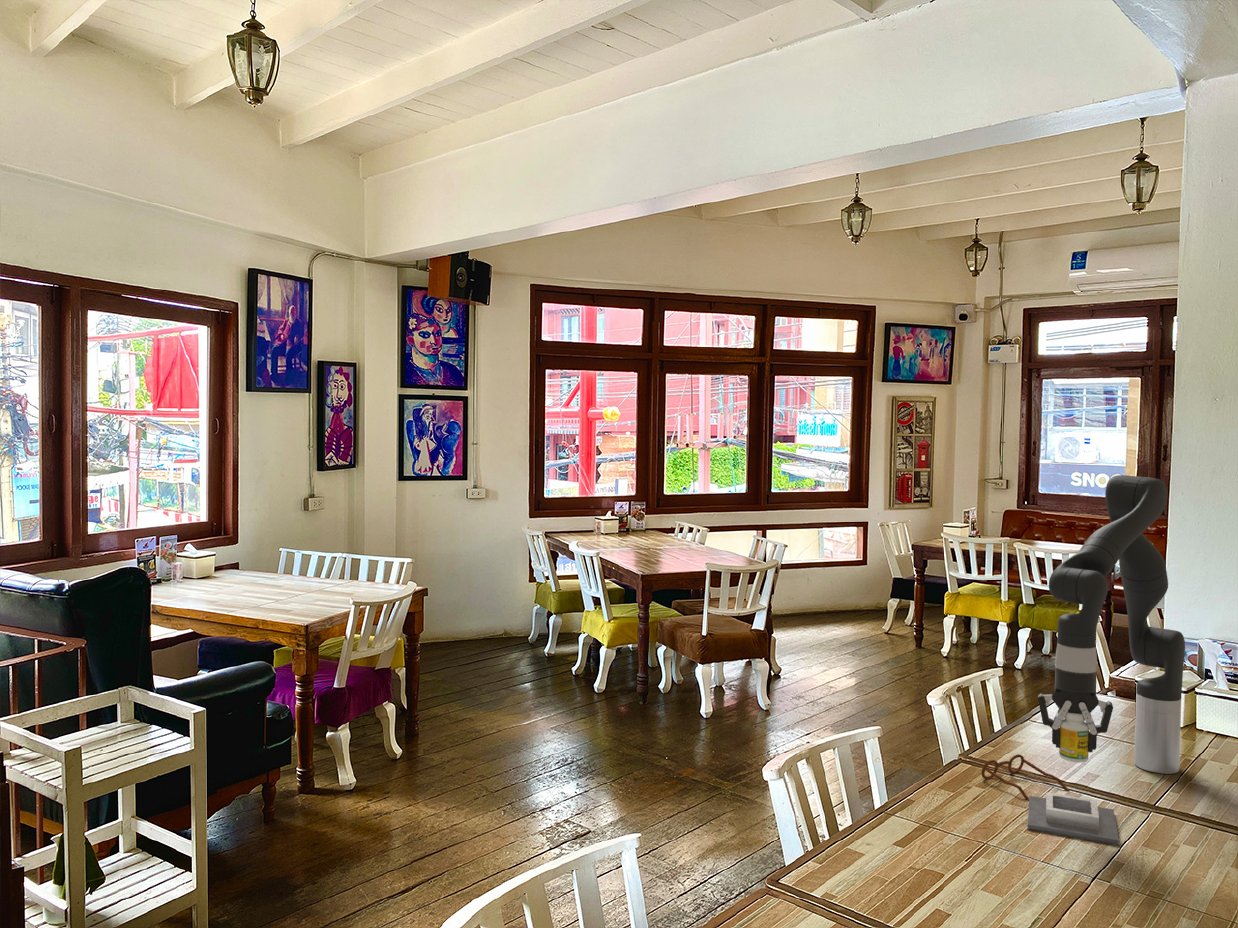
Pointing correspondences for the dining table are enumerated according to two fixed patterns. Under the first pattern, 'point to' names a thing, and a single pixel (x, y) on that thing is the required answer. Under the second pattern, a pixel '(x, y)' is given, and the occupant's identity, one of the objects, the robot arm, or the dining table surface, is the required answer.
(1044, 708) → the robot arm
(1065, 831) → the mount
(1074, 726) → the supplement bottle
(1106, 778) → the dining table surface
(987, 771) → the glasses
